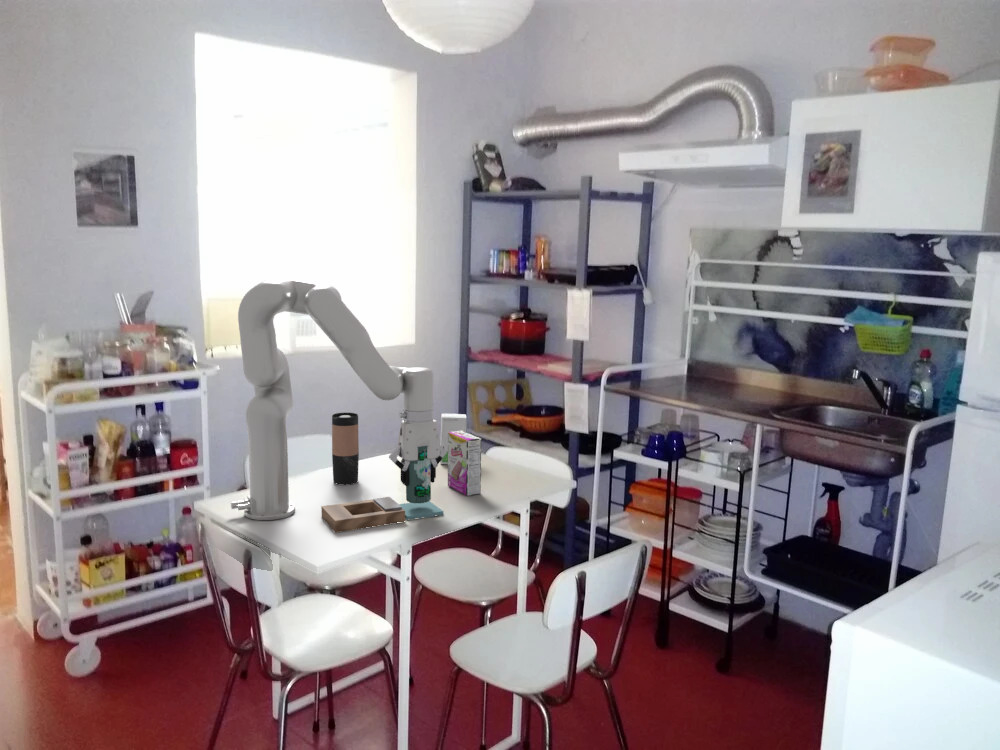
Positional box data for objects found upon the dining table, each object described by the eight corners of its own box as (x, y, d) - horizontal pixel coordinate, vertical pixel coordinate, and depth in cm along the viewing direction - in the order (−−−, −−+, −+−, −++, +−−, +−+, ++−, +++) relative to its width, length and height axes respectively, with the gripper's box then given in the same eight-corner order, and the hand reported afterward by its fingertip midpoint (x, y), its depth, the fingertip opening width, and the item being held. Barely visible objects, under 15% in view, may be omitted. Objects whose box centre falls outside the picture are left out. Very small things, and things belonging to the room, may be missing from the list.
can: (422, 504, 202) (422, 448, 199) (402, 501, 204) (401, 445, 202) (434, 498, 207) (434, 442, 205) (414, 494, 210) (414, 440, 207)
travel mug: (361, 478, 235) (360, 412, 232) (356, 485, 228) (355, 418, 225) (335, 477, 235) (335, 412, 232) (329, 484, 228) (328, 417, 225)
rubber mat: (407, 520, 200) (407, 516, 199) (393, 508, 208) (393, 505, 208) (443, 514, 204) (443, 511, 204) (428, 503, 213) (428, 500, 213)
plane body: (335, 532, 190) (335, 518, 189) (321, 517, 200) (321, 503, 200) (405, 522, 198) (405, 508, 198) (388, 508, 209) (388, 495, 208)
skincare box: (440, 464, 252) (440, 417, 250) (439, 459, 258) (440, 413, 256) (466, 464, 253) (466, 417, 250) (465, 459, 259) (466, 413, 257)
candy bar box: (446, 486, 229) (447, 431, 226) (461, 484, 232) (461, 429, 229) (466, 497, 220) (467, 439, 217) (481, 494, 222) (482, 437, 220)
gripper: (391, 421, 195) (391, 491, 198) (455, 415, 203) (454, 482, 206) (381, 415, 201) (381, 483, 204) (443, 410, 210) (442, 475, 212)
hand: (418, 482), depth 205 cm, fingers closed on can, 6 cm apart
